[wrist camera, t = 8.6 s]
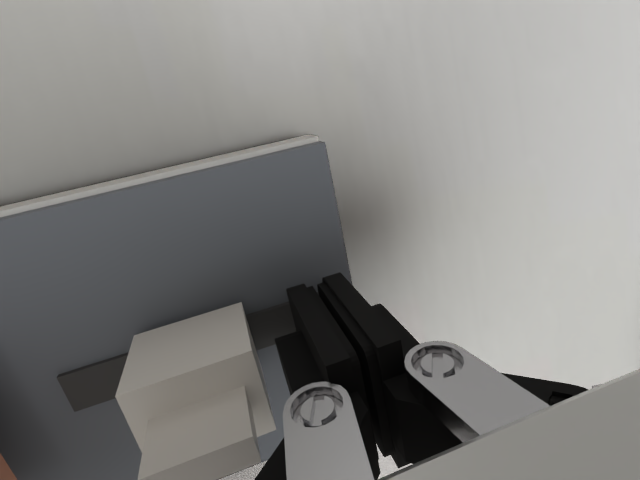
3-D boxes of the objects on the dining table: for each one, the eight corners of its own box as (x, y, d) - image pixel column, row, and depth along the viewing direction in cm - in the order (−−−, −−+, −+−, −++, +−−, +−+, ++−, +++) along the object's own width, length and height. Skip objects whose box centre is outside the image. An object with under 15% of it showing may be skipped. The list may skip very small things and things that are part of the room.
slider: (163, 403, 12) (144, 544, 8) (133, 335, 11) (96, 454, 7) (261, 369, 12) (289, 484, 8) (241, 301, 11) (262, 395, 8)
